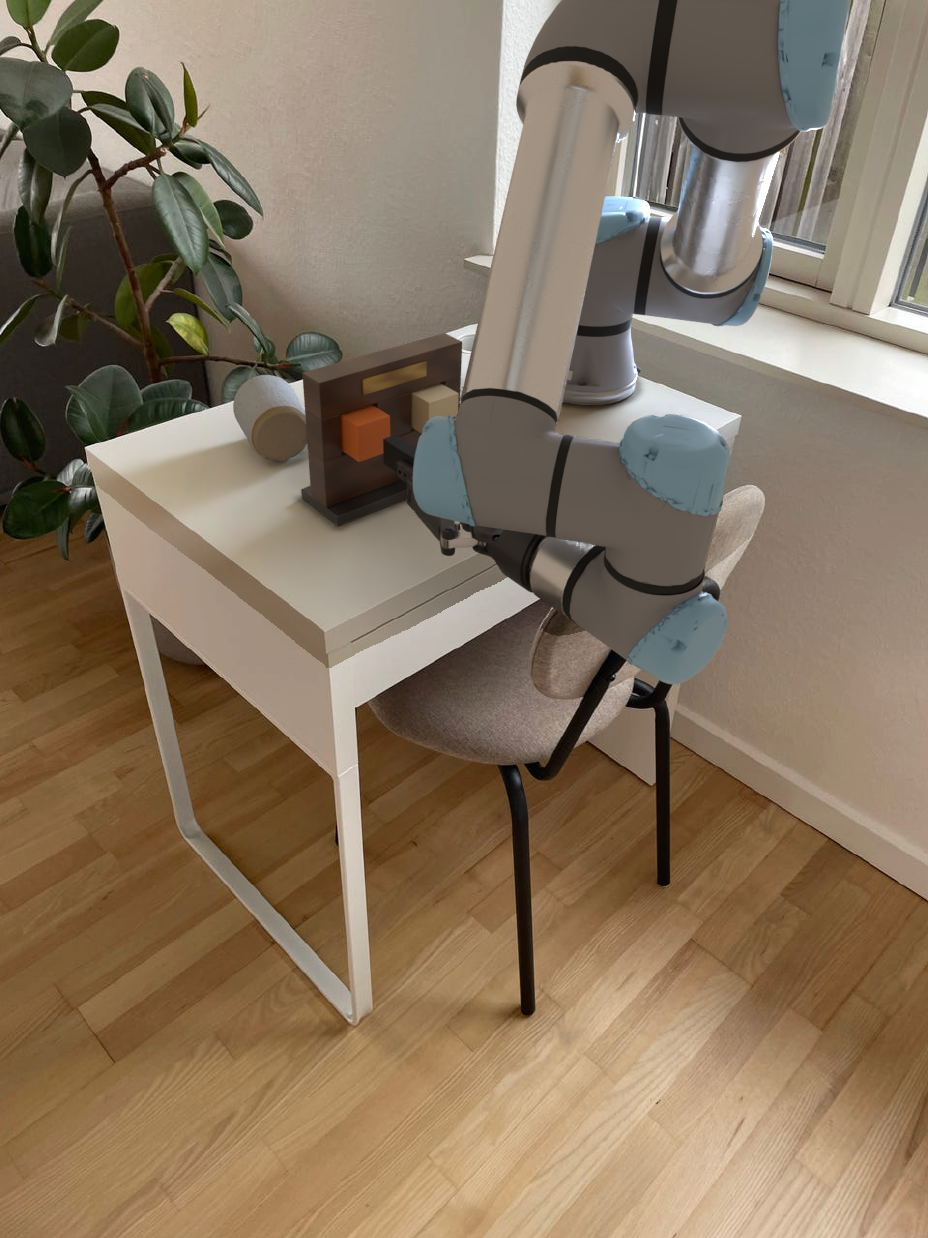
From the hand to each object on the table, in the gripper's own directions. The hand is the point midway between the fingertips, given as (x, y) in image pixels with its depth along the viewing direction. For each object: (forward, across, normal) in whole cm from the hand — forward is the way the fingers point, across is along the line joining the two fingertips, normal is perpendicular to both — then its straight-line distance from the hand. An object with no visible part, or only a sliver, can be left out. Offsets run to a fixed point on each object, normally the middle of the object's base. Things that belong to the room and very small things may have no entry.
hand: (389, 449), depth 92 cm
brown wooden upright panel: (+7, +4, -9) cm, 12 cm away
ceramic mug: (+21, +1, -9) cm, 23 cm away
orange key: (+5, 0, -2) cm, 5 cm away
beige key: (+5, +9, -2) cm, 10 cm away
